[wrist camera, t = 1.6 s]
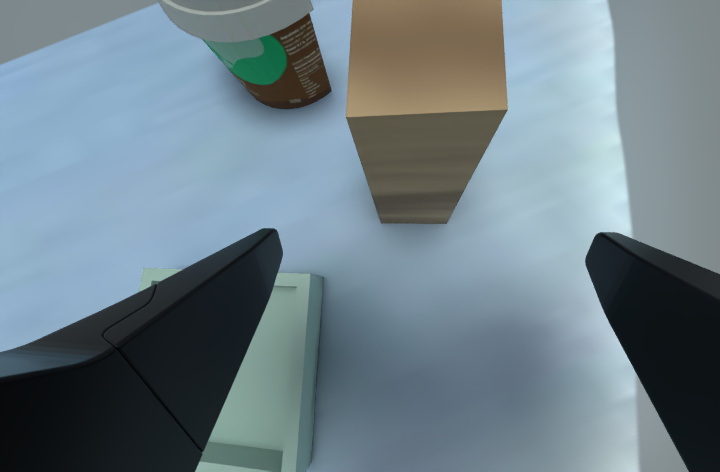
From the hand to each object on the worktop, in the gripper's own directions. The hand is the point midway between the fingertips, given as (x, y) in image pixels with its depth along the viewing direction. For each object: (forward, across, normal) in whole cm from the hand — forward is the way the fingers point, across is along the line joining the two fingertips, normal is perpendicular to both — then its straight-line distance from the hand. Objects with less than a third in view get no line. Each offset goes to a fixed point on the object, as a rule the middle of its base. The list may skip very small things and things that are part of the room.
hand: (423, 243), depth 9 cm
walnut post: (+13, 0, +4) cm, 13 cm away
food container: (+20, +12, -2) cm, 23 cm away
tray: (+4, +12, +13) cm, 18 cm away
